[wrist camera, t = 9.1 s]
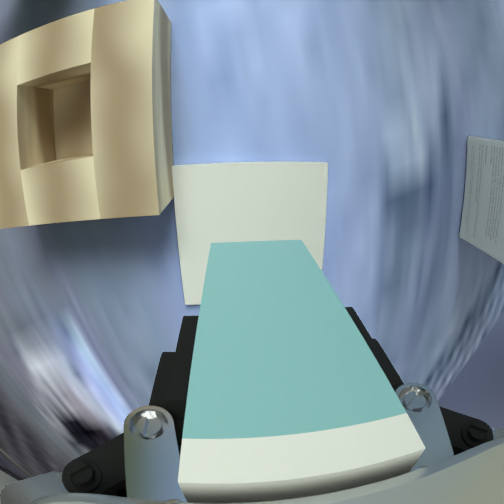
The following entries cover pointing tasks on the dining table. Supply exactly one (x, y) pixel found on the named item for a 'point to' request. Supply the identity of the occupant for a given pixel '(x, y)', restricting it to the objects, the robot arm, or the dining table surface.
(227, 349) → the plug
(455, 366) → the dining table surface
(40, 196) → the socket block
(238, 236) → the mat
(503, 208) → the supplement box
